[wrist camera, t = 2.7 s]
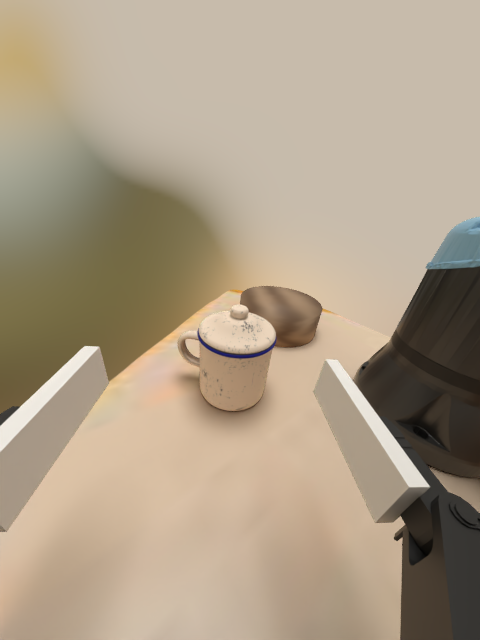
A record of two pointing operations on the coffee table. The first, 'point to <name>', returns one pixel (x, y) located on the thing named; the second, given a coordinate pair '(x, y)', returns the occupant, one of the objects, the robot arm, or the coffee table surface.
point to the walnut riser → (285, 313)
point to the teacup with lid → (232, 357)
